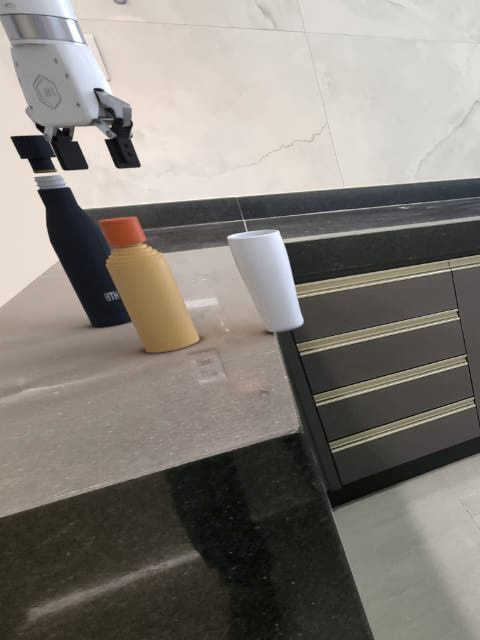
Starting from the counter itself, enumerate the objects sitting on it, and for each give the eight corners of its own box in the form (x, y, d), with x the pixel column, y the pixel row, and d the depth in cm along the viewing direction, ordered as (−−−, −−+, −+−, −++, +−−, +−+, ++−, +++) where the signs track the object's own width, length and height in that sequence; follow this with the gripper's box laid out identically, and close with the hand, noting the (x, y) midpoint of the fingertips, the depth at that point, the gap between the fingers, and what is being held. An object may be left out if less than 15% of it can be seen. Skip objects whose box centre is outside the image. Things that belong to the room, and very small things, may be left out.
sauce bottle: (135, 351, 78) (75, 226, 71) (180, 335, 84) (129, 218, 76) (166, 354, 76) (108, 226, 69) (209, 338, 82) (160, 218, 74)
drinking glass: (298, 318, 89) (268, 228, 83) (317, 324, 85) (287, 231, 79) (253, 331, 84) (218, 236, 78) (272, 338, 80) (236, 239, 74)
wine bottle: (112, 316, 95) (25, 136, 83) (150, 313, 96) (69, 134, 83) (81, 328, 89) (-17, 137, 77) (122, 325, 90) (31, 134, 78)
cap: (101, 245, 72) (90, 221, 71) (134, 239, 76) (123, 216, 75) (121, 246, 71) (110, 221, 70) (153, 240, 75) (143, 216, 73)
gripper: (-39, 36, 70) (26, 172, 77) (65, 26, 67) (123, 169, 74) (30, 44, 77) (84, 169, 83) (127, 35, 74) (175, 165, 80)
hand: (102, 169), depth 79 cm, fingers open, 9 cm apart
